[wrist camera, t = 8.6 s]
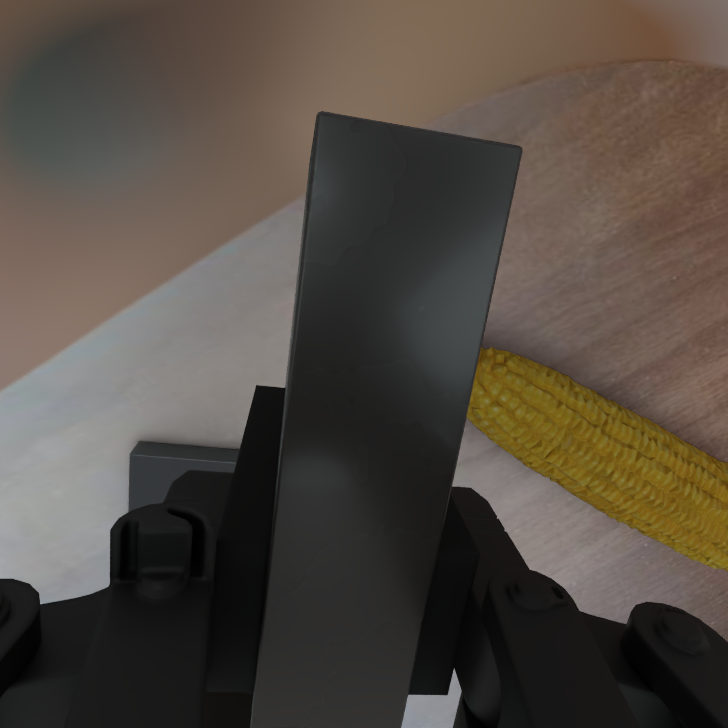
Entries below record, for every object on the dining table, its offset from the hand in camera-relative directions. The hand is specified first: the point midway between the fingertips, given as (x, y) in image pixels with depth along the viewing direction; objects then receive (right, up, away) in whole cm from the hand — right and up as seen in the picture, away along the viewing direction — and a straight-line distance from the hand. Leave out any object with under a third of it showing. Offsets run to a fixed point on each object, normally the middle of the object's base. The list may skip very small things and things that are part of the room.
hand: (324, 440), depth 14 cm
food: (+14, -2, +17) cm, 22 cm away
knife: (-1, -4, +2) cm, 5 cm away
